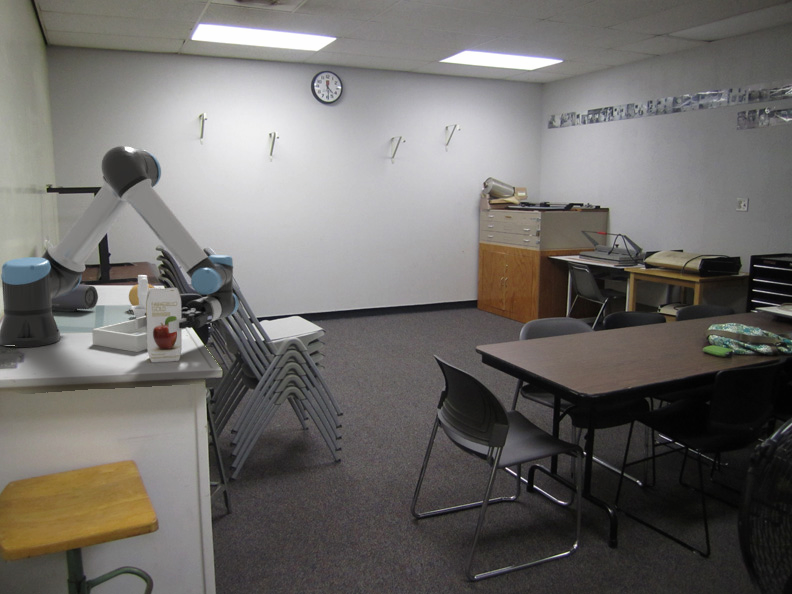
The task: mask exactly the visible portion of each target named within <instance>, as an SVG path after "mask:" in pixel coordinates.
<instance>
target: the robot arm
mask: <svg viewBox="0 0 792 594" xmlns="http://www.w3.org/2000/svg"><path fill="white" fill-rule="evenodd" d="M100 167H101V172H102V182H103V185H102V186H101V188H100V189H99V190H98V192H97V193H96V195H95V196H94V197H93V198H92V199H91V201H90V202H89V204H88V205H87V206H86V208H85V209H84V210H83V211H82V213H81V214H80V216H79V217H77V220H75V222H74V223H73V225H72V226H71V227H70V228H69V230H68V231H67V232H66V234H65V235H64V237H63V238H62V239H61V240H60V242H59V243H58V244H57V245H55V246H54V245H53V246H49V247H48V248H47V249H46V251H45V252H44V253H43V254H42V256H41V257H39V256H38V257H35V256H32V257H31V256H29V257H20V258H13V259H10V260H7V261H5V262H4V263H3V264H2V266H1V275H0V279H1V284H2V285H1V287H2V289H1V290H2V299H3V300H2V301H3V318H2V322H1V325H0V346H2V347H5V346H4V345H15V346H17V347H16V348H33V347H41V346H47V345H51V344H54V343H57V342H59V341H60V340H61V332H60V329H59V328H58V325H57V322H56V320H55V318H54V315H53V310H52V300H51V299H52V298H56V297H59V296H64V295H67V294H69V293H70V292H72V291H73V290H75V289H76V288H77V287H78V285H79V284H81V281H82V274H83V273H84V272H85V270H86V264H85V262H86V260H88V258H89V257H90V256H91V254H92V253H93V251H95V249H96V247H97V246H98V245H99V244H100V243H101V241H102V240H103V238H105V236H106V235H107V233H108V232H109V231H110V229H111V228H112V227H113V226H114V225H115V223H116V222H117V220H118V218H120V216H121V215H122V214H123V212H124V211H125V209H126V208H127V207H128V206H129V204H130V206H131V207H132V208H133V210H134V211H135V212H136V213H137V214H138V216H139V217H140V218H141V219H142V220H143V221H144V223H145V224H146V226H148V228H149V229H150V230H151V232H152V233H153V234H154V235H155V236H156V238H157V239H158V240H159V242H160V243H161V244H162V245H163V246H164V247H165V248H166V250H167V251H168V252H169V253H170V255H171V256H172V257H173V259H174V260H175V261H176V262H177V263H178V265H180V267H181V268H182V269H183V271H184V272H185V273H186V274H187V275H188V276H189V278H190V283H191V286H192V288H193V290H194V291H195V292H197V293H198V294H199V295H200V294H201V295H207V296H203V297H200V298H197V299H193V300H190V301H188V302H187V303H186V305H185V306H184V307H181V319H179V320H175V321H172V322H169V333H173V332H176V331H179V330H181V331H182V330H184V329H187V328H189V329H191V328H193V327H194V328H195V329H199V328H201V327H203V326H205V325H206V324H207V325H209V324H210V323H211V322H214V321H217V320H220V319H224V318H227V317H230V316H232V315H233V314H234V313H237V311H238V309H239V306H240V305H239V304H240V302H239V300H238V297H237V295H236V294H235V293H234V290H233V287H234V286H233V285H234V284H233V282H234V281H233V280H234V277H233V276H234V275H233V273H234V263H233V262H234V261H233V257H232V256H231V255H226V254H211V255H208V254H206V252H205V251H204V250H203V248H202V247H201V246H200V245H199V243H198V242H197V241H196V240H195V239H194V238H193V236H192V235H191V234H190V232H189V231H188V230H187V228H186V227H185V226H184V225H183V224H182V222H181V221H180V220H179V219H178V217H177V216H176V215H175V214H174V212H173V211H172V210H171V209H170V207H169V206H168V205H167V204H166V203H165V201H164V200H163V198H161V196H160V195H159V194H158V193H157V191H156V190H155V189H154V187H155V186H157V184H158V183H159V181H160V180H161V176H162V168H161V164H160V162H159V160H158V158H157V157H155V155H154V154H152V153H150V152H149V151H147V150H145V149H142V148H135V147H130V146H125V145H124V146H123V145H121V146H119V145H118V146H115V147H113V148H110V149H109V150H108V151H107V152H106V153H105V154H104V156H103V157H102V159H101V164H100ZM134 320H135V329H140V328H143V327H146V313H145V316H143V317H139V318H136V317H135V318H134Z"/></svg>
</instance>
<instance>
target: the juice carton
mask: <svg viewBox="0 0 792 594" xmlns="http://www.w3.org/2000/svg"><path fill="white" fill-rule="evenodd" d="M181 308H182V297H181V292H180V291H179V288H177V287H166V288H165V287H164V288H158V287H157V288H156V287H155V288H149V289H148V291H147V296H146V329H147V349H146V350H147V353H148V356H149V360H150V362H151V363H166V362H167V363H168V362H179V361H180V358H181V354H182V348H183V347H182V346H183V344H182V341H183V340H182V339H183V338H182V337H183V335H182V333H183V332H182V330H179V331H176V332H173V333H169V322H172V321H175V320H179V319H181Z"/></svg>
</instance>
